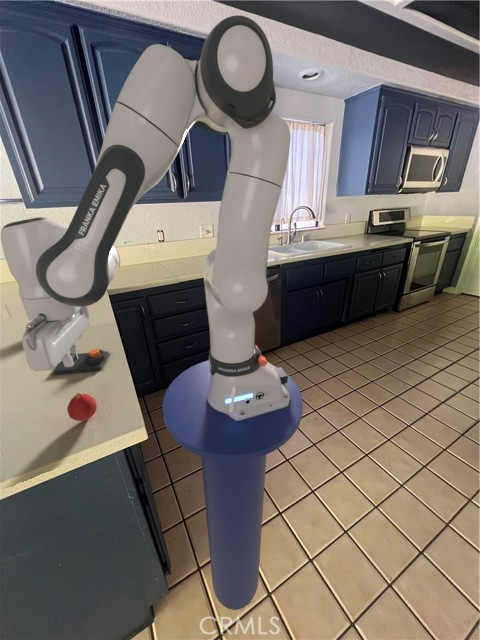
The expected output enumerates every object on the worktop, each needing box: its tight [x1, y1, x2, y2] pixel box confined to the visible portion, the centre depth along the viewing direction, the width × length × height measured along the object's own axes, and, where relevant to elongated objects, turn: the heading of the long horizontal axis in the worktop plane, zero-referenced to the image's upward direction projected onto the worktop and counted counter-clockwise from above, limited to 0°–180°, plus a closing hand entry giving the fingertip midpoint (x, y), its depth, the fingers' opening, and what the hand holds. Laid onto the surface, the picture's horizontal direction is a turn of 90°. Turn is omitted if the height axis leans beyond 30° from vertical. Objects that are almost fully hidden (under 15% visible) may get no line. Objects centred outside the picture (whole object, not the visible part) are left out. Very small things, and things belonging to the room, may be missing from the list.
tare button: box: [88, 348, 100, 358], centre depth 83 cm, size 3×3×2 cm
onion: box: [66, 392, 98, 422], centre depth 61 cm, size 6×6×8 cm
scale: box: [53, 349, 110, 375], centre depth 83 cm, size 13×9×3 cm
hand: (72, 363), depth 58 cm, fingers closed
